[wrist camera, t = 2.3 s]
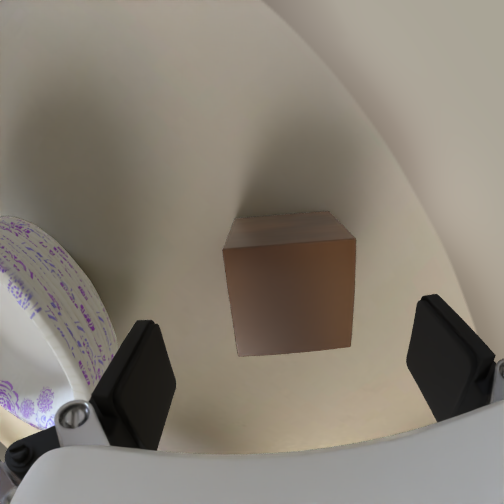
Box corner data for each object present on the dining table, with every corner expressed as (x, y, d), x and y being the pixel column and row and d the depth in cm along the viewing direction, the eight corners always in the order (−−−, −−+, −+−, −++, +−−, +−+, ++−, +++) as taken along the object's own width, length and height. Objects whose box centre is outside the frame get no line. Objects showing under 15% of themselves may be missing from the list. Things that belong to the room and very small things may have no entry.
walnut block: (329, 210, 17) (356, 238, 12) (330, 296, 19) (350, 347, 14) (234, 218, 18) (221, 249, 12) (244, 303, 19) (237, 357, 14)
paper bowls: (40, 374, 23) (2, 425, 16) (-26, 234, 19) (-86, 265, 11) (166, 370, 22) (136, 451, 14) (90, 174, 17) (2, 198, 9)
